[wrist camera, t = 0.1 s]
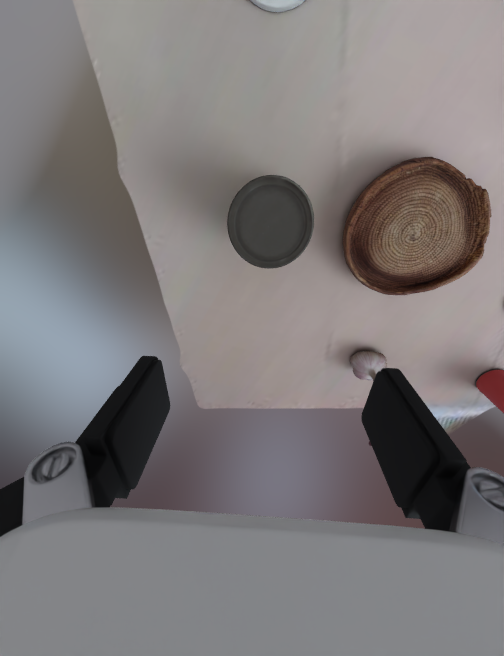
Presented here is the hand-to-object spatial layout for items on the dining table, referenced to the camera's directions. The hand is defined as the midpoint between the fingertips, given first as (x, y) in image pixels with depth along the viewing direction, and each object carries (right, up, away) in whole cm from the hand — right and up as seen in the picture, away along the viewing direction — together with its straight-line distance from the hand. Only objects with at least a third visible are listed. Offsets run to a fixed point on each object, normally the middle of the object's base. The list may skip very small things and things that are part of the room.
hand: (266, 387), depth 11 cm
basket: (+26, +19, +31) cm, 44 cm away
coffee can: (+2, +22, +31) cm, 38 cm away
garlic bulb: (+25, -4, +44) cm, 51 cm away
